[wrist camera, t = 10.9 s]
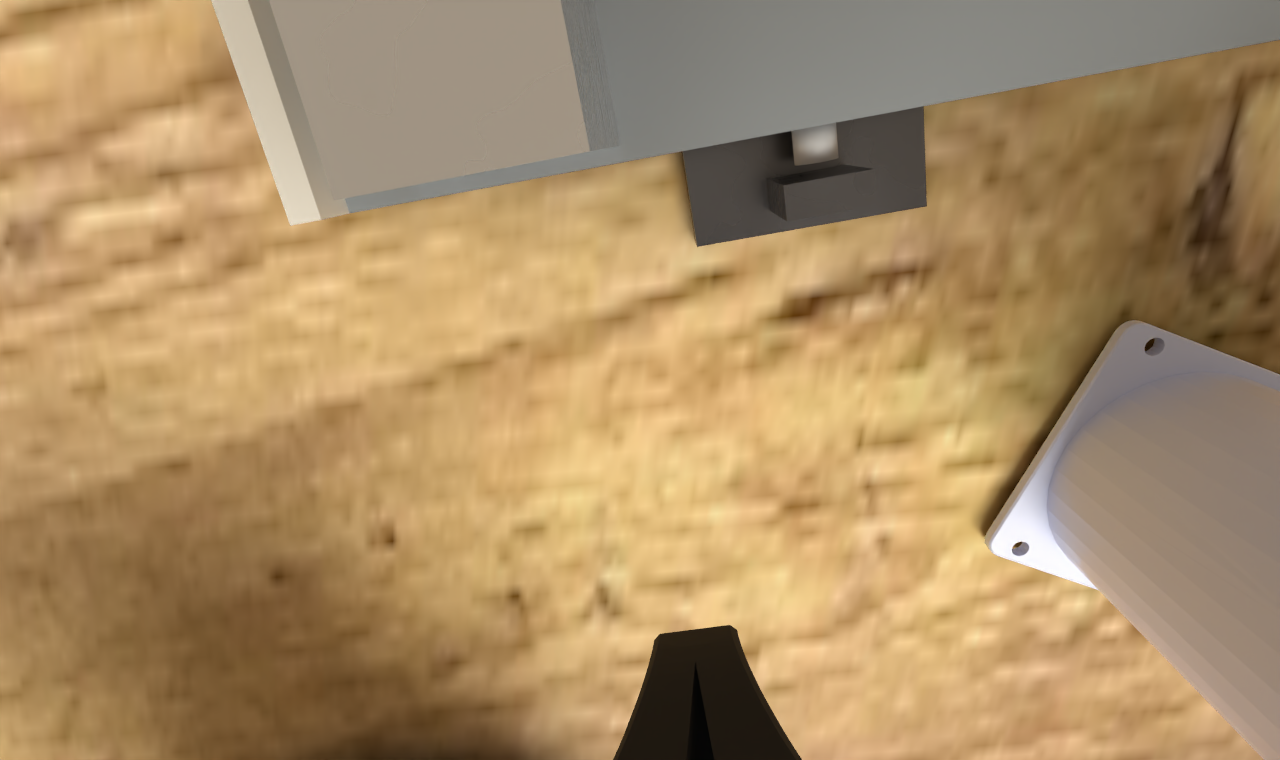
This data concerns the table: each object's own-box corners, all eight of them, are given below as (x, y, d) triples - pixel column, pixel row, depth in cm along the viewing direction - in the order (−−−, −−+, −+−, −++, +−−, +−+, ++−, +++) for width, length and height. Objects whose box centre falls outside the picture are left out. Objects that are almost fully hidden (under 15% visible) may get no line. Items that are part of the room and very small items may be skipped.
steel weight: (573, -118, 13) (522, -197, 10) (620, 145, 15) (590, 150, 12) (347, -57, 14) (233, -111, 11) (415, 184, 16) (333, 200, 12)
